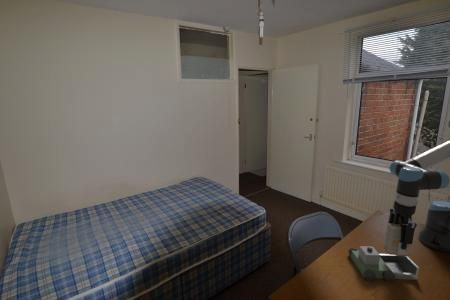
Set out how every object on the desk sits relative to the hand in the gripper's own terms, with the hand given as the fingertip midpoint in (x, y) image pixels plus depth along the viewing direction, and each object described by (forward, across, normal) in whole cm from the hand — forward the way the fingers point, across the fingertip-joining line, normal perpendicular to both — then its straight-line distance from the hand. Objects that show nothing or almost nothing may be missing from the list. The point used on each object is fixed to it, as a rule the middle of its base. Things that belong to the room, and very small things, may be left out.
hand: (396, 249), depth 104 cm
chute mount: (+10, 0, 0) cm, 10 cm away
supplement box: (+1, 0, 0) cm, 1 cm away
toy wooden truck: (+10, 0, -10) cm, 14 cm away
